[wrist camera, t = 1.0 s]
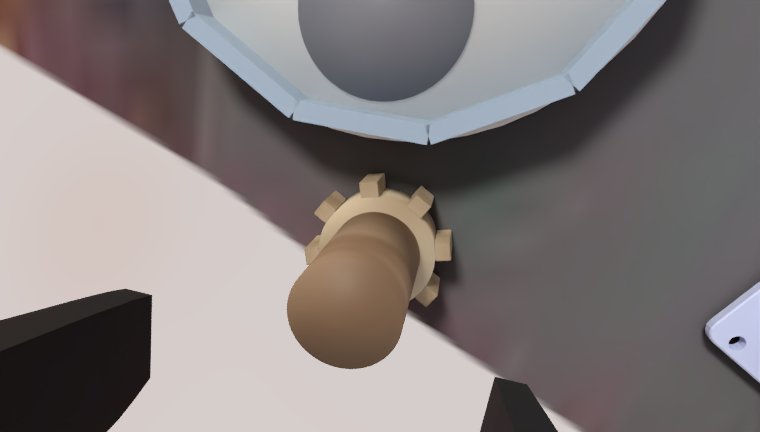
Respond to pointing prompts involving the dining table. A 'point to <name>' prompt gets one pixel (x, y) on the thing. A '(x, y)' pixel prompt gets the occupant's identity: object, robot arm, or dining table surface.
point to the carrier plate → (414, 57)
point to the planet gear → (366, 273)
